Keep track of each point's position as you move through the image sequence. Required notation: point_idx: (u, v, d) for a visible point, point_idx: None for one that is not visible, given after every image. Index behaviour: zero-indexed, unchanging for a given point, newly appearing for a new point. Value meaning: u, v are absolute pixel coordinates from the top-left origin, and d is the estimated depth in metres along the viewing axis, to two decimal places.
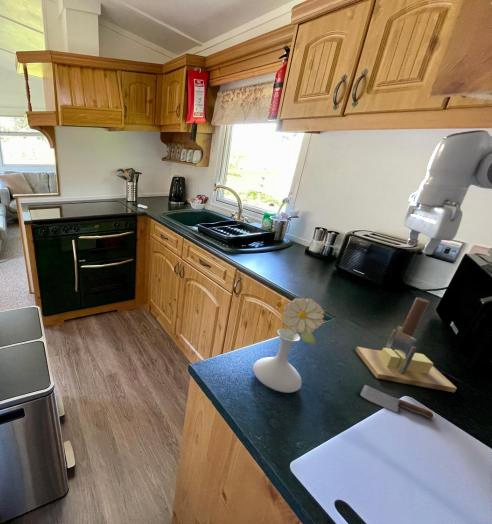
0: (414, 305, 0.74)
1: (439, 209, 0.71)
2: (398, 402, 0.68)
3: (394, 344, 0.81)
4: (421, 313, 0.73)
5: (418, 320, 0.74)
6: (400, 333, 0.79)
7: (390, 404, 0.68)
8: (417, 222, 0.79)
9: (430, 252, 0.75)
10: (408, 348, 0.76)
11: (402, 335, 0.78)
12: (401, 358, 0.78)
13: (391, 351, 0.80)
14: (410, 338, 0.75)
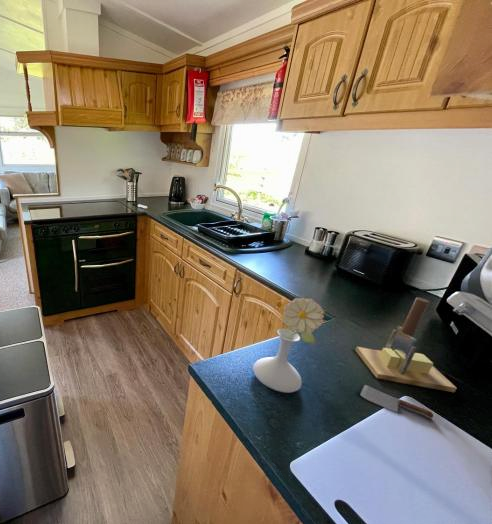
0: (414, 305, 0.74)
1: None
2: (398, 402, 0.68)
3: (394, 344, 0.81)
4: (421, 313, 0.73)
5: (418, 320, 0.74)
6: (400, 333, 0.79)
7: (390, 404, 0.68)
8: None
9: None
10: (408, 348, 0.76)
11: (402, 335, 0.78)
12: (401, 358, 0.78)
13: (391, 351, 0.80)
14: (410, 338, 0.75)
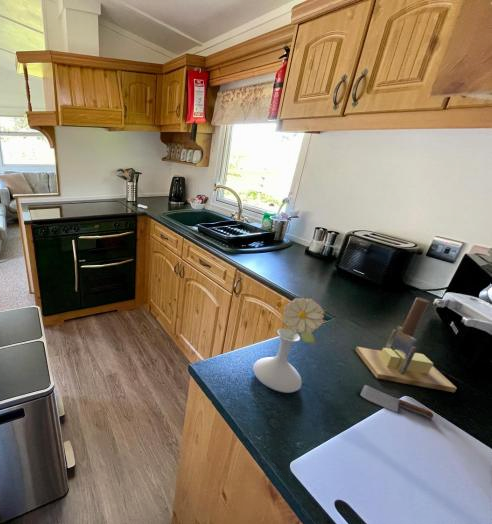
0: (414, 305, 0.74)
1: None
2: (398, 402, 0.68)
3: (394, 344, 0.81)
4: (421, 313, 0.73)
5: (418, 320, 0.74)
6: (400, 333, 0.79)
7: (390, 404, 0.68)
8: None
9: None
10: (408, 348, 0.76)
11: (402, 335, 0.78)
12: (401, 358, 0.78)
13: (391, 351, 0.80)
14: (410, 338, 0.75)
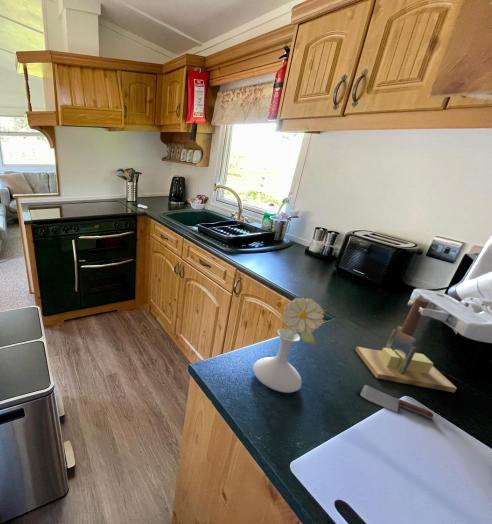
0: (414, 305, 0.74)
1: None
2: (398, 402, 0.68)
3: (394, 344, 0.81)
4: None
5: (418, 320, 0.74)
6: (400, 333, 0.79)
7: (390, 404, 0.68)
8: None
9: None
10: (408, 348, 0.76)
11: (402, 335, 0.78)
12: (401, 358, 0.78)
13: (391, 351, 0.80)
14: (410, 338, 0.75)
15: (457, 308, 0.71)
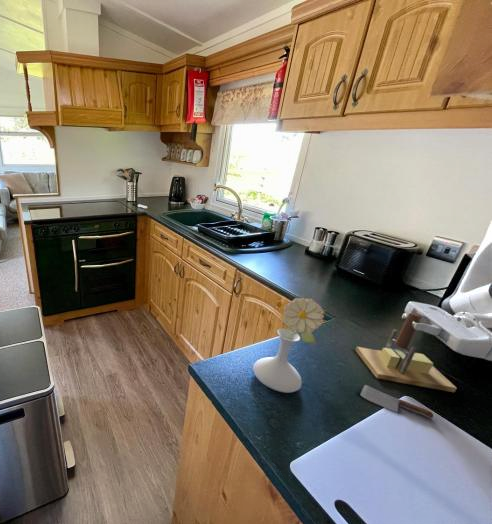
0: (408, 319, 0.76)
1: None
2: (398, 402, 0.68)
3: None
4: None
5: (411, 334, 0.76)
6: (394, 346, 0.81)
7: (390, 404, 0.68)
8: None
9: None
10: (402, 361, 0.77)
11: (396, 348, 0.80)
12: None
13: (391, 351, 0.80)
14: (404, 351, 0.77)
15: (449, 323, 0.73)
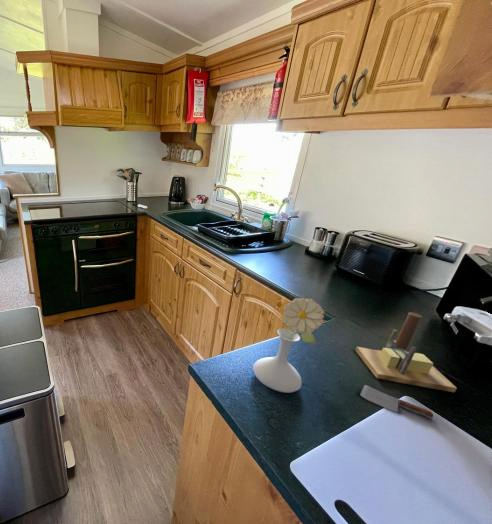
0: (407, 320, 0.76)
1: None
2: (398, 402, 0.68)
3: None
4: (414, 328, 0.75)
5: (411, 334, 0.76)
6: (394, 346, 0.81)
7: (390, 404, 0.68)
8: None
9: None
10: (401, 362, 0.77)
11: (396, 348, 0.80)
12: None
13: (391, 351, 0.80)
14: (403, 352, 0.77)
15: None
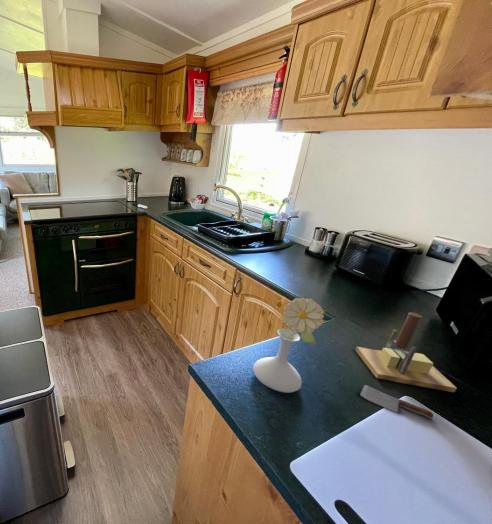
0: (407, 320, 0.76)
1: None
2: (398, 402, 0.68)
3: None
4: (414, 328, 0.75)
5: (411, 334, 0.76)
6: (394, 346, 0.81)
7: (390, 404, 0.68)
8: None
9: None
10: (401, 362, 0.77)
11: (396, 348, 0.80)
12: None
13: (391, 351, 0.80)
14: (403, 352, 0.77)
15: None
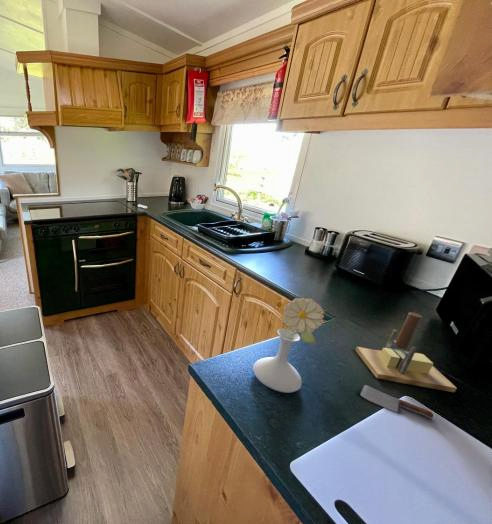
0: (407, 320, 0.76)
1: None
2: (398, 402, 0.68)
3: None
4: (414, 328, 0.75)
5: (411, 334, 0.76)
6: (394, 346, 0.81)
7: (390, 404, 0.68)
8: None
9: None
10: (401, 362, 0.77)
11: (396, 348, 0.80)
12: None
13: (391, 351, 0.80)
14: (403, 352, 0.77)
15: None
